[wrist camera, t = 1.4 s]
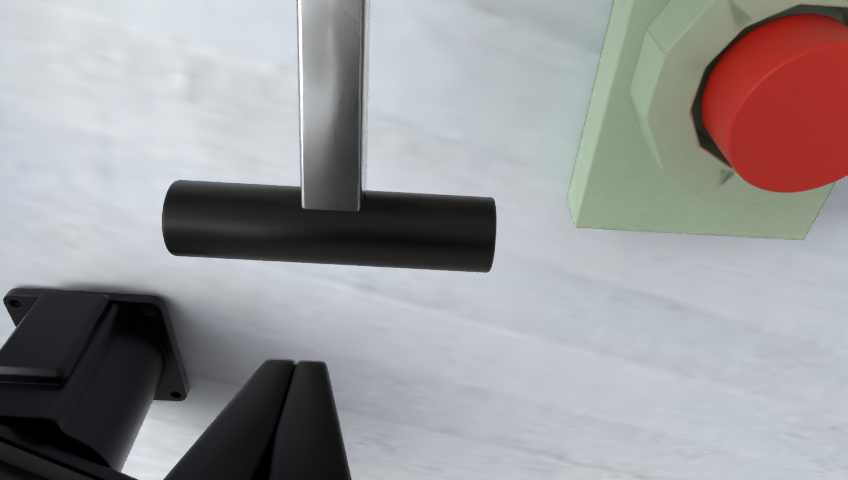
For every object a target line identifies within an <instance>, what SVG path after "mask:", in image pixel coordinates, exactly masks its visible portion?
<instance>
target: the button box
mask: <svg viewBox="0 0 848 480" xmlns="http://www.w3.org/2000/svg"><path fill="white" fill-rule="evenodd" d="M795 14H820V15H825V16H829V17H832V18H834V19H836V20H838V21H840V22H842V23H844V24H845V25H847V26H848V0H614V3H613V8H612V12H611V16H610V20H609V24H608V29H607V33H606V37H605V41H604V45H603V50H602V54H601V58H600V62H599V66H598V71H597V75H596V79H595V83H594V87H593V92H592V96H591V100H590V104H589V108H588V113H587V117H586V121H585V125H584V130H583V134H582V138H581V142H580V146H579V151H578V155H577V159H576V163H575V167H574V172H573V176H572V180H571V184H570V188H569V193H568V197H567V202H568V206H569V209H570V213H571V216H572V220H573V223H574V227H576V228H594V229H612V230H630V231H648V232H667V233H685V234H703V235H721V236H739V237H757V238H775V239H793V240H804V239H805V237H806V235H807V233H808V231H809V229H810V228H811V226H812V224H813V222H814V220H815V219H816V217H817V215H818V213H819V211H820V210H821V208H822V206H823V204H824V202H825V200H826V199H827V197H828V195H829V193H830V191H831V190H832V188H833V186H834V184H835V182H836V181H835V182H833V183H830V184H828V185H825V186H822V187H819V188H816V189H812V190H807V191H802V192H793V193H779V192H771V191H767V190H763V189H760V188H757V187H755V186H753V185H751V184H749V183H748V182H746V181H745V180H743V179H742V178H741V177H740V176H739V175H738V174H737V173H736V171H735V170H734V169H733V167H732V166H731V165H730V163H729V162H728V160H727V159H726V158H725V156H724V155H723V153H722V152H721V151H720V149H719V148H718V146H717V145H716V144H715V142H714V141H713V139H712V138H711V137H710V135H709V134H708V132H707V130H706V128H705V126H704V123H703V120H702V115H701V100H702V94H703V90H704V87H705V84H706V81H707V79H708V77H709V75H710V73H711V71H712V69H713V68H714V66H715V65H716V63H717V62H718V60H719V59H720V58H721V56H722V55H723V54H724V53H725V52H726V51H727V50H728V49H729V48H730V47H731V46H732V45H733V44H734V43H735V42H736V41H737V40H739V39H740V38H741V37H743V36H744V35H745V34H747V33H748V32H750V31H752V30H753V29H755V28H757V27H759V26H761V25H763V24H765V23H767V22H769V21H772V20H775V19H777V18H781V17H785V16H789V15H795Z"/></svg>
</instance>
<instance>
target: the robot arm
mask: <svg viewBox="0 0 848 480" xmlns="http://www.w3.org/2000/svg"><path fill="white" fill-rule="evenodd" d="M3 301H4V304H5V306H6V308H7V310H8V312H9V314H10V316H11V318H12V320H13V322H14V324H15V326H16V329H15V330H14V332H13V333H12V334H11V336H10V337H9V338H8V340H7V341H6V342H5V344H4V345H3V346H2V348H1V349H0V480H138V479H135V478H133V477H131V476H128V475H126V474H123V473H121V470H122V468H123V466H124V464H125V462H126V459H127V457H128V455H129V453H130V450H131V448H132V446H133V444H134V441H135V439H136V437H137V435H138V432H139V430H140V428H141V426H142V423H143V421H144V419H145V417H146V415H147V412H148V410H149V408H150V406H151V403H152V401H153V400H166V401H182V400H185V398H186V397H187V394H188V392H189V386H188V383H187V379H186V376H185V372H184V368H183V365H182V361H181V358H180V354H179V351H178V347H177V344H176V340H175V337H174V333H173V330H172V326H171V323H170V319H169V316H168V312H167V309H166V305H165V303H164V301H162V300H161V299H160V298H158V297H156V296H151V295H133V294H114V293H95V292H76V291H57V290H39V289H20V288H16V289H12V290H10V291H9V292H8V293H7V295H6V296H5V297H4V299H3ZM151 307H152V308H151ZM164 480H352V479H351V475H350V470H349V465H348V461H347V456H346V451H345V447H344V442H343V438H342V433H341V428H340V424H339V419H338V414H337V410H336V405H335V400H334V396H333V391H332V386H331V382H330V377H329V372H328V368H327V365H326V363H325V362H324V361H312V360H300V361H299V362H298V363H296V362H295V361H294V360H291V359H274V358H272V359H268V360H266V361H265V362H264V363H263V364H262V365H261V366H260V367H259V368H258V370H257V371H256V372H255V373H254V374H253V375H252V377H251V378H250V379H249V380H248V381H247V382H246V384H245V385H244V386H243V387H242V388H241V389H240V391H239V392H238V393H237V394H236V395H235V396H234V398H233V399H232V400H231V401H230V402H229V404H228V405H227V406H226V407H225V408H224V409H223V411H222V412H221V413H220V414H219V415H218V416H217V418H216V419H215V420H214V421H213V422H212V423H211V425H210V426H209V427H208V428H207V429H206V430H205V432H204V433H203V434H202V435H201V436H200V437H199V439H198V440H197V441H196V442H195V443H194V444H193V446H192V447H191V448H190V449H189V450H188V451H187V453H186V454H185V455H184V456H183V457H182V459H181V460H180V461H179V462H178V463H177V464H176V466H175V467H174V468H173V469H172V470H171V471H170V473H169V474H168V475H167V476H166V477H165V478H164Z"/></svg>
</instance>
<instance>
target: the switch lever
mask: <svg viewBox="0 0 848 480" xmlns="http://www.w3.org/2000/svg"><path fill="white" fill-rule="evenodd" d="M296 2H297V47H298V91H299V136H300V181H301V187H295V186H277V185H259V184H241V183H223V182H206V181H188V180H178V181H175V182H174V183H173V184H172V185H171V186H170V187H169V189H168V191H167V194H166V197H165V201H164V205H163V212H162V231H163V237H164V242H165V245H166V247H167V249H168V251H169V252H170V253H171V254H173V255H175V256H189V257H208V258H226V259H245V260H263V261H282V262H300V263H319V264H337V265H356V266H374V267H393V268H411V269H430V270H449V271H467V272H486V273H487V272H489V271H490V269H491V267H492V264H493V259H494V252H495V242H496V206H495V201H494V199H493V198H491V197H473V196H455V195H438V194H420V193H402V192H384V191H366V169H367V122H368V75H369V28H370V0H296Z"/></svg>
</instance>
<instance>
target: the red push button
mask: <svg viewBox="0 0 848 480" xmlns="http://www.w3.org/2000/svg"><path fill="white" fill-rule="evenodd" d="M701 115H702V120H703V123H704V126H705V128H706V130H707V132H708V134H709V135H710V137H711V138H712V139H713V141H714V142H715V144H716V145H717V146H718V148H719V149H720V151H721V152H722V153H723V155H724V156H725V158H726V159H727V160H728V162H729V163H730V165H731V166H732V167H733V169H734V170H735V171H736V173H737V174H738V175H739V176H740V177H741V178H742V179H743V180H745V181H746V182H748V183H749V184H751V185H753V186H755V187H757V188H760V189H763V190H767V191H771V192H779V193H793V192H802V191H807V190H812V189H816V188H819V187H822V186H825V185H828V184H830V183H833V182H835V181H837V180H839V179H841V178H843V177H845V176H847V175H848V26H847V25H845V24H844V23H842V22H840V21H838V20H836V19H834V18H832V17H829V16H825V15H820V14H795V15H789V16H785V17H781V18H777V19H775V20H772V21H769V22H767V23H765V24H763V25H761V26H759V27H757V28H755V29H753V30H752V31H750V32H748V33H747V34H745V35H744V36H743V37H741V38H740V39H739V40H737V41H736V42H735V43H734V44H733V45H732V46H731V47H730V48H729V49H728V50H727V51H726V52H725V53H724V54H723V55H722V56H721V58H720V59H719V60H718V62H717V63H716V65H715V66H714V68H713V69H712V71H711V73H710V75H709V77H708V79H707V81H706V84H705V87H704V90H703V94H702V100H701Z"/></svg>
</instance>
